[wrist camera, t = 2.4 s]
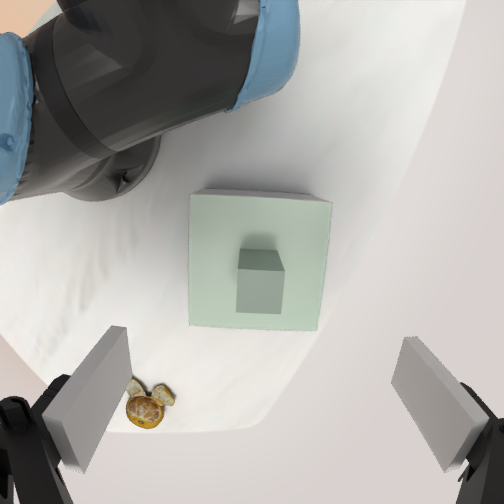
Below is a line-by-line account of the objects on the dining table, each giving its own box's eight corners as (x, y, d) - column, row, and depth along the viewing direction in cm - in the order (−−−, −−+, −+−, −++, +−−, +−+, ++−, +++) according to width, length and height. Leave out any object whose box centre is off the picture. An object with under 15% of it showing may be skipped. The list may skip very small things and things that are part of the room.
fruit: (176, 389, 42) (171, 406, 39) (171, 424, 45) (167, 441, 41) (121, 373, 42) (113, 389, 38) (121, 410, 44) (114, 426, 41)
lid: (193, 312, 32) (176, 359, 24) (195, 192, 30) (173, 200, 21) (311, 317, 33) (331, 365, 24) (324, 199, 30) (354, 211, 21)
